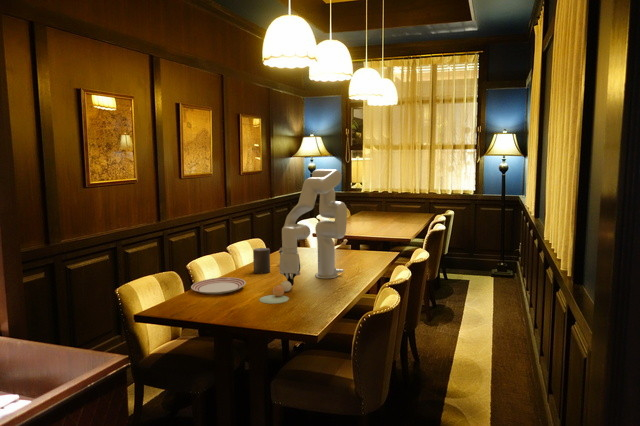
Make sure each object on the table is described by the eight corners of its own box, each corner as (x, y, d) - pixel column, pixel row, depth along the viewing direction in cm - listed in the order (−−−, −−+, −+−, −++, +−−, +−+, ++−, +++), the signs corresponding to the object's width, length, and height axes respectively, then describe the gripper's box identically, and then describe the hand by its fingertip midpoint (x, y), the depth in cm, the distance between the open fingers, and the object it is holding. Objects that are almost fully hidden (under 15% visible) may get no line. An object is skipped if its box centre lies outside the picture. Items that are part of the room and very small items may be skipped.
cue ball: (285, 280, 249) (284, 291, 248) (294, 281, 252) (293, 292, 251) (278, 280, 253) (277, 291, 252) (287, 280, 256) (286, 291, 255)
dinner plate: (220, 300, 240) (219, 293, 239) (179, 292, 254) (179, 286, 254) (256, 287, 263) (256, 281, 262) (217, 281, 277) (217, 275, 277)
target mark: (286, 294, 247) (286, 294, 247) (291, 302, 233) (291, 301, 233) (257, 296, 244) (257, 296, 244) (260, 304, 230) (260, 304, 230)
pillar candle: (267, 274, 290) (266, 248, 289) (251, 273, 292) (250, 248, 291) (272, 270, 300) (271, 245, 298) (256, 270, 302) (256, 245, 300)
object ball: (282, 282, 245) (278, 283, 240) (287, 292, 244) (283, 294, 239) (273, 287, 247) (268, 289, 242) (278, 297, 246) (274, 299, 241)
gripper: (273, 251, 254) (274, 286, 256) (300, 252, 249) (301, 288, 251) (279, 248, 261) (280, 283, 263) (306, 249, 256) (306, 285, 258)
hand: (290, 285), depth 257 cm, fingers closed
